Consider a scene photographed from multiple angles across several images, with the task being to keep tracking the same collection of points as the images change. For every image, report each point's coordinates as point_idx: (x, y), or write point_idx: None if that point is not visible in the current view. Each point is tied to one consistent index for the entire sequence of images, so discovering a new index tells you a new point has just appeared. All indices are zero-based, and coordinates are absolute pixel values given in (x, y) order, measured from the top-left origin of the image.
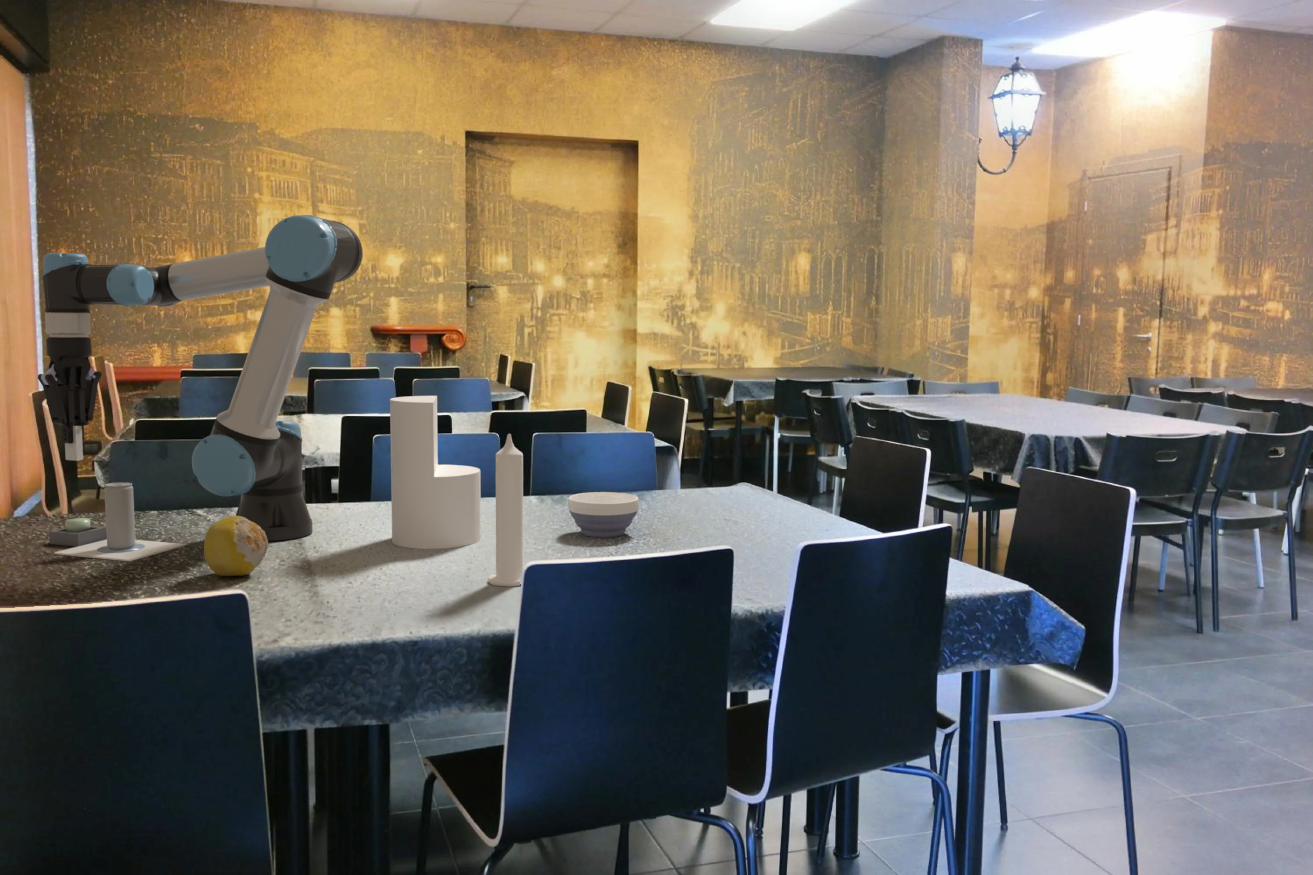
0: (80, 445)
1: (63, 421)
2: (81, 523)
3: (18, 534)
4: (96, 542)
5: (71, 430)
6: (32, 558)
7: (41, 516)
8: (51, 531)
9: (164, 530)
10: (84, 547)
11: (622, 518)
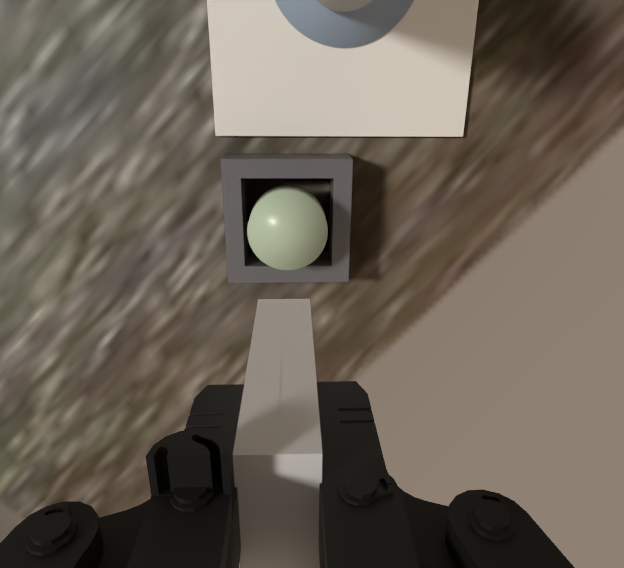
0: (270, 346)
1: (507, 511)
2: (306, 195)
3: None
4: (297, 129)
5: (335, 454)
6: (526, 150)
7: None
8: (345, 274)
9: (16, 81)
10: (373, 104)
11: None
